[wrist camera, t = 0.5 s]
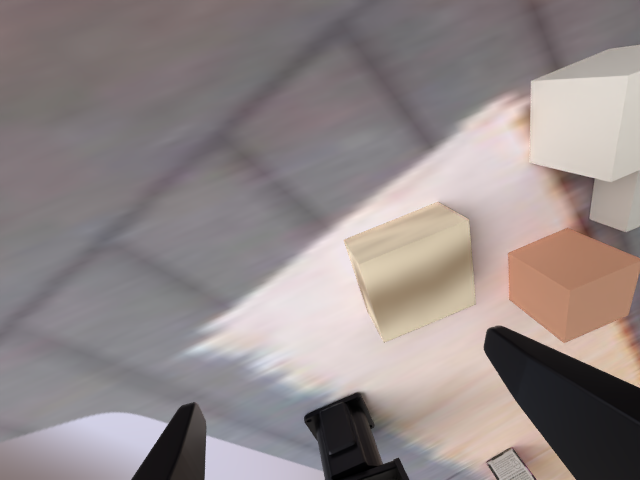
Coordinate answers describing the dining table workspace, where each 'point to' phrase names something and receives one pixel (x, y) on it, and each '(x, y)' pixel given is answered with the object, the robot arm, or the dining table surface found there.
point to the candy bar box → (509, 467)
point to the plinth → (617, 202)
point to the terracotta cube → (572, 283)
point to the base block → (414, 269)
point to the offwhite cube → (589, 116)
